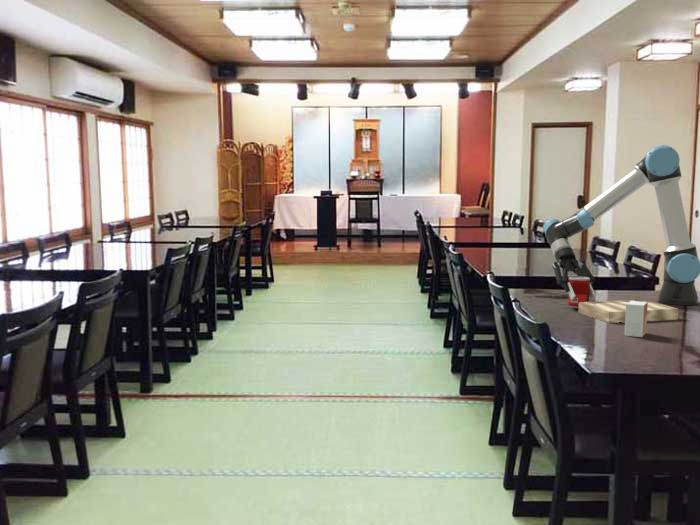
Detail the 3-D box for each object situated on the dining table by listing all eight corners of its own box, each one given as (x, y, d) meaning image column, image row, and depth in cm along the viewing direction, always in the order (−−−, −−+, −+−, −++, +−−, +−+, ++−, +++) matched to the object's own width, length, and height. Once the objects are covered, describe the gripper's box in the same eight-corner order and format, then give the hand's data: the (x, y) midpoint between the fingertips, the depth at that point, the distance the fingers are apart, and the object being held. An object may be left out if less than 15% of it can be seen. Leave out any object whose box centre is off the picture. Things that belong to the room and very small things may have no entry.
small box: (642, 337, 217) (644, 305, 216) (624, 335, 220) (625, 303, 219) (646, 333, 224) (648, 301, 223) (628, 331, 227) (630, 300, 226)
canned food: (591, 307, 263) (592, 278, 262) (570, 306, 263) (572, 278, 262) (585, 303, 271) (586, 276, 270) (565, 303, 271) (566, 276, 270)
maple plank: (643, 309, 265) (643, 299, 265) (678, 319, 246) (678, 308, 246) (578, 312, 260) (578, 302, 259) (608, 323, 240) (609, 311, 240)
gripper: (582, 257, 282) (603, 302, 268) (536, 258, 278) (555, 304, 264) (590, 245, 276) (611, 290, 263) (543, 246, 272) (562, 292, 258)
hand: (583, 297), depth 263 cm, fingers closed on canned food, 8 cm apart
